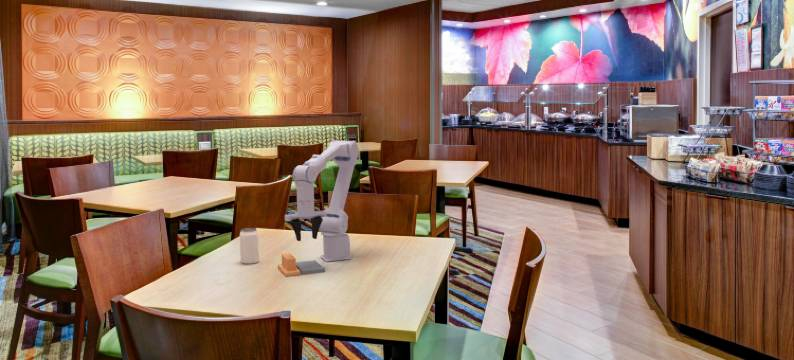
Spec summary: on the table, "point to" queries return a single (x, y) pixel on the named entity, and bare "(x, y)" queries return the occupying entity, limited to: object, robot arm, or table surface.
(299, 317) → the table surface
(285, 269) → the stub
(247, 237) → the can
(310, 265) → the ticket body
